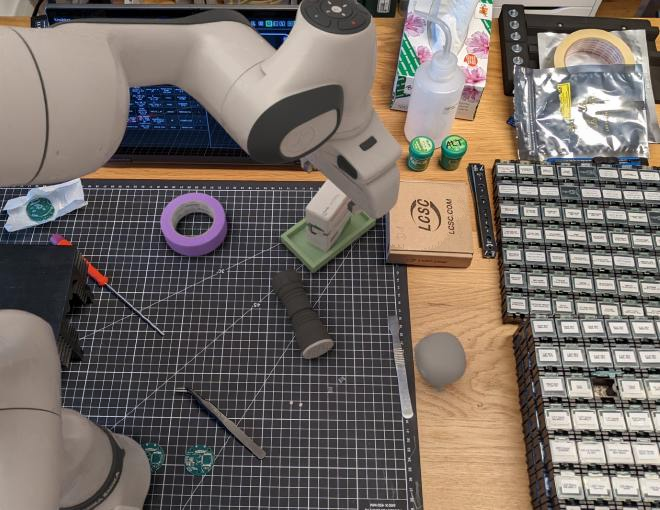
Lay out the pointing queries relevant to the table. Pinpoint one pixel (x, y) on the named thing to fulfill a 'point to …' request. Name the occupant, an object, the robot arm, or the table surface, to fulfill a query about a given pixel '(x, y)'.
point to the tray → (316, 258)
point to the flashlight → (301, 314)
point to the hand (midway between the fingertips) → (332, 188)
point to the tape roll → (186, 206)
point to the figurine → (440, 359)
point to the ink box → (327, 217)
